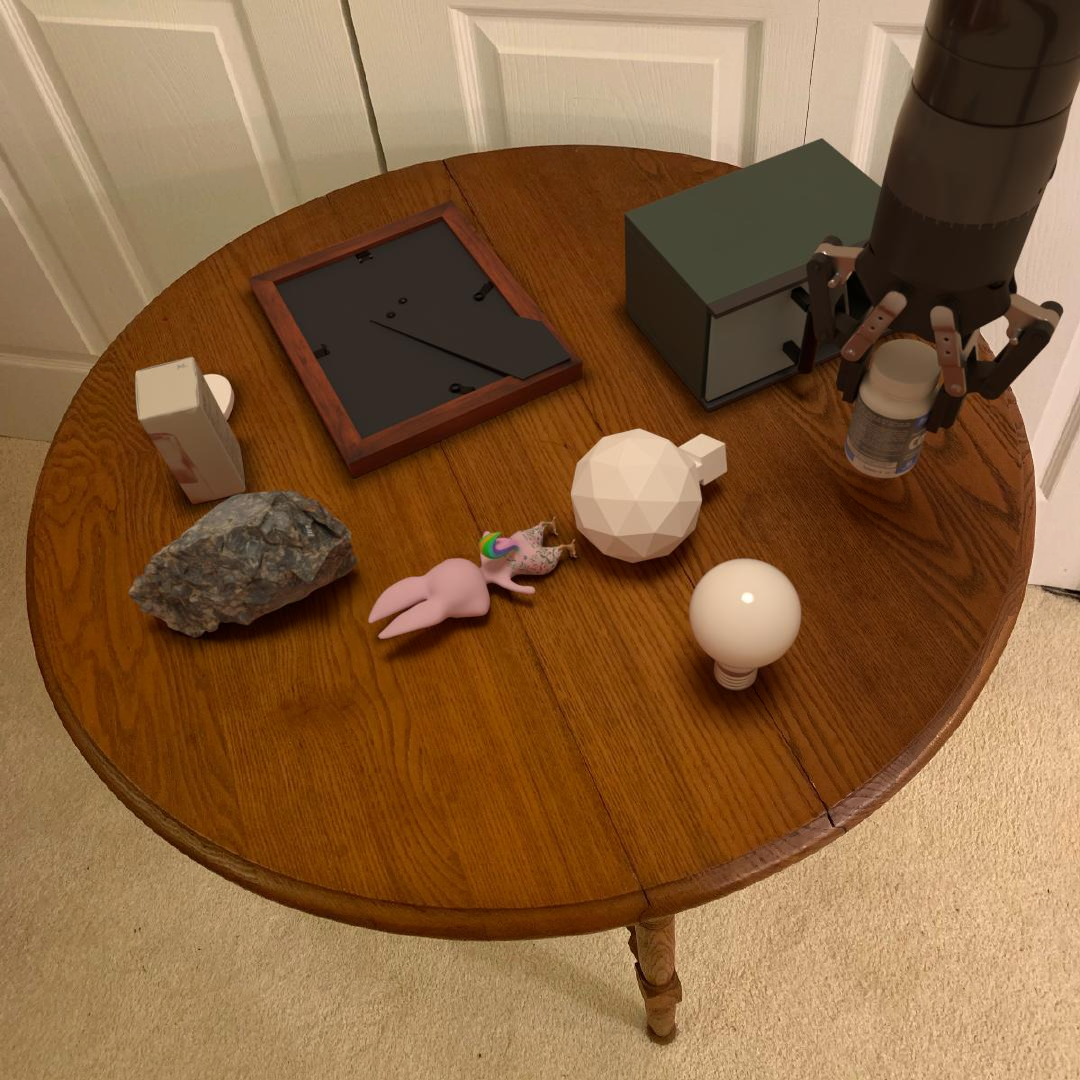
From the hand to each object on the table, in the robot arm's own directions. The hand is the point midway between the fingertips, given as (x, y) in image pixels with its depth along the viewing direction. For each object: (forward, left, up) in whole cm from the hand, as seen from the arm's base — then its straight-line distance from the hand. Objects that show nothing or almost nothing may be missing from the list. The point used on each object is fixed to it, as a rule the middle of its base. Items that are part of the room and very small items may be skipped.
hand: (894, 407), depth 63 cm
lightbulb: (+2, +17, -10) cm, 20 cm away
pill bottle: (0, 0, -5) cm, 5 cm away
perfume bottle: (+12, +9, -10) cm, 18 cm away
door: (+10, -6, -9) cm, 15 cm away
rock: (+33, +28, -10) cm, 44 cm away
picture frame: (+40, +1, -10) cm, 41 cm away
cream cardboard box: (+44, +21, -10) cm, 50 cm away
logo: (+51, +16, -10) cm, 54 cm away
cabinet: (+15, -14, -10) cm, 23 cm away
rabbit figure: (+20, +20, -10) cm, 30 cm away
